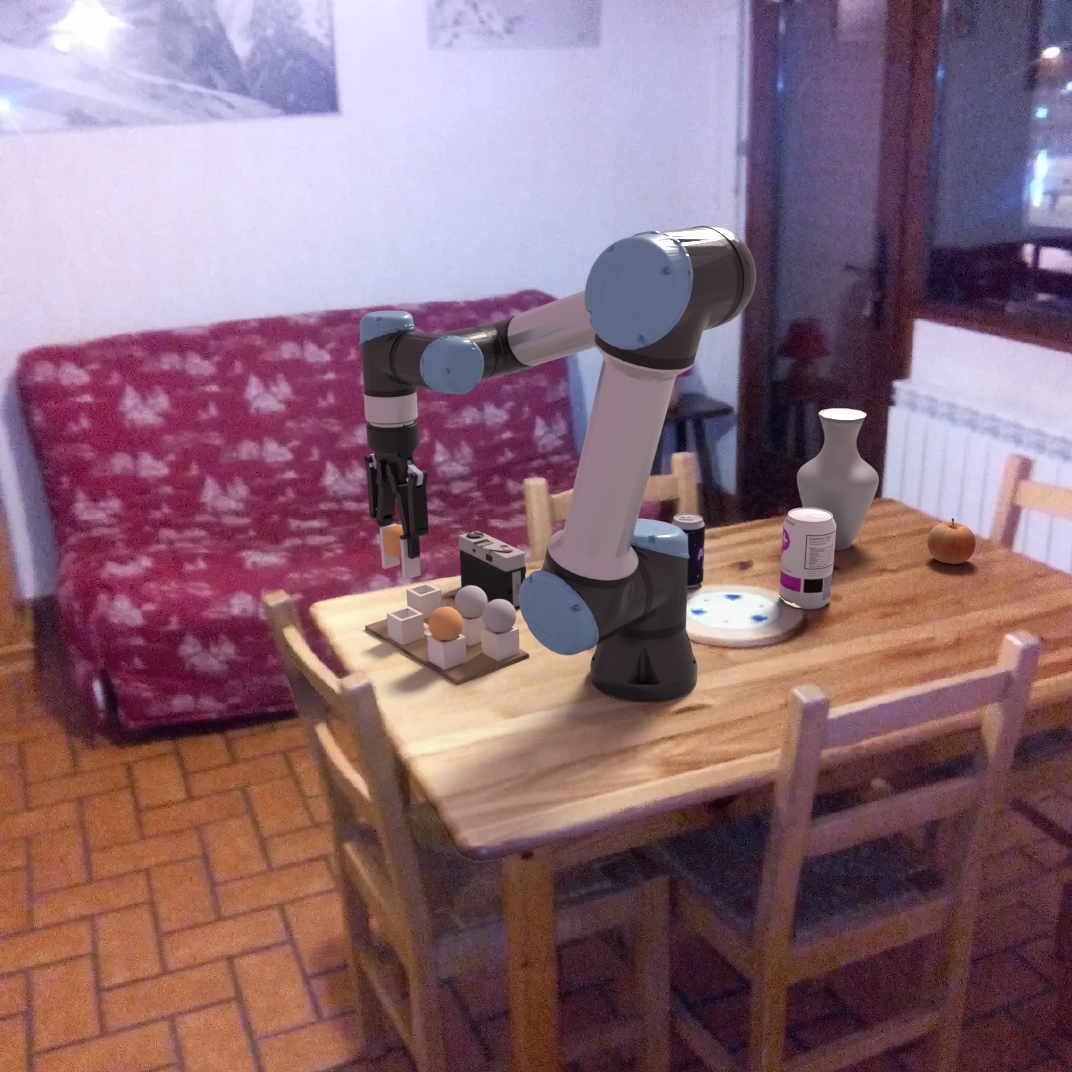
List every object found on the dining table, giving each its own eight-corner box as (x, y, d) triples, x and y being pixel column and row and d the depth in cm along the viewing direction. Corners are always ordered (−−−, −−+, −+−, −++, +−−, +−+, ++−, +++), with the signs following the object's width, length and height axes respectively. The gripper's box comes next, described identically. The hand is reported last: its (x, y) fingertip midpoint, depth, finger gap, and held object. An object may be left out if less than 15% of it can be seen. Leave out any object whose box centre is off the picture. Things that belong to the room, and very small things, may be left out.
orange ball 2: (470, 640, 163) (469, 608, 162) (442, 650, 160) (440, 618, 159) (450, 629, 167) (449, 598, 165) (422, 638, 164) (420, 607, 162)
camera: (546, 600, 187) (545, 544, 184) (505, 613, 183) (503, 556, 179) (498, 576, 198) (496, 522, 194) (458, 587, 193) (456, 533, 190)
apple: (921, 552, 204) (925, 511, 201) (967, 554, 203) (972, 512, 200) (929, 569, 197) (934, 526, 194) (977, 570, 196) (982, 527, 193)
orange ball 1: (423, 557, 168) (421, 525, 167) (395, 565, 165) (393, 533, 164) (405, 549, 172) (403, 517, 170) (377, 556, 169) (374, 525, 167)
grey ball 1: (494, 617, 171) (493, 587, 169) (468, 626, 168) (466, 595, 166) (475, 607, 174) (473, 577, 173) (448, 616, 172) (447, 586, 170)
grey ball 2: (523, 632, 166) (522, 600, 164) (496, 641, 163) (495, 610, 161) (502, 621, 169) (501, 590, 168) (476, 630, 166) (474, 599, 165)
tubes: (519, 653, 167) (518, 628, 166) (456, 677, 160) (455, 651, 159) (428, 605, 184) (426, 582, 183) (367, 624, 178) (366, 601, 176)
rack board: (529, 657, 167) (528, 651, 167) (457, 684, 159) (457, 678, 159) (433, 607, 185) (433, 602, 185) (365, 629, 178) (365, 624, 177)
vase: (887, 542, 209) (899, 411, 201) (848, 564, 199) (859, 427, 191) (818, 526, 219) (827, 400, 210) (778, 546, 209) (785, 414, 200)
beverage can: (701, 591, 189) (704, 524, 185) (668, 589, 190) (669, 522, 186) (704, 578, 195) (706, 513, 190) (671, 576, 196) (672, 511, 192)
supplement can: (774, 607, 183) (779, 519, 177) (784, 588, 190) (789, 504, 185) (825, 613, 180) (832, 525, 175) (833, 594, 187) (840, 509, 182)
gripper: (449, 428, 157) (456, 582, 165) (381, 405, 170) (390, 549, 178) (404, 437, 153) (413, 595, 161) (337, 414, 166) (349, 561, 174)
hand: (401, 570), depth 169 cm, fingers closed on orange ball 1, 5 cm apart
